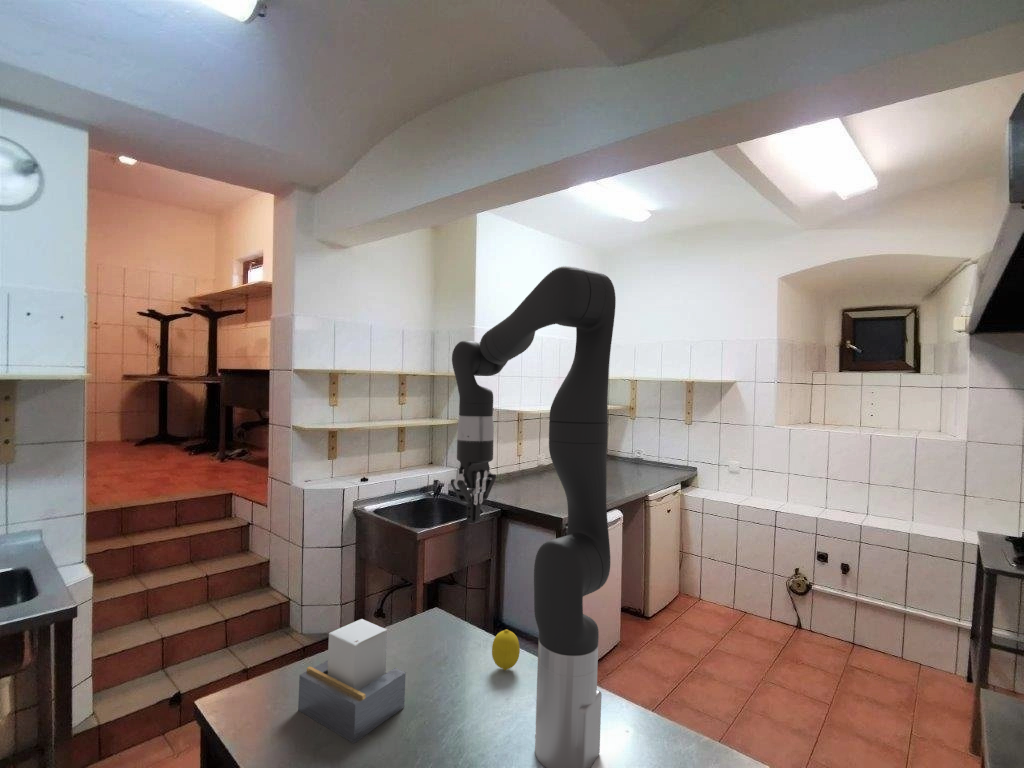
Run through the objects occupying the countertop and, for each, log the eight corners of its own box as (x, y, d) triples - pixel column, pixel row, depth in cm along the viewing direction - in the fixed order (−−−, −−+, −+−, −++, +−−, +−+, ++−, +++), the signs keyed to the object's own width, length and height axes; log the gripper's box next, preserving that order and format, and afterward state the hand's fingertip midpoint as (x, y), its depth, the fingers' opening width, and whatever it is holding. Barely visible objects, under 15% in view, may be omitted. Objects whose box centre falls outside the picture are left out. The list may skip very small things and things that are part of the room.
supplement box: (386, 701, 89) (389, 629, 89) (351, 722, 83) (354, 645, 83) (359, 685, 93) (362, 617, 93) (324, 705, 87) (327, 631, 87)
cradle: (404, 707, 87) (405, 668, 87) (353, 743, 78) (355, 700, 78) (350, 680, 95) (351, 644, 95) (298, 710, 85) (299, 671, 85)
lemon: (519, 663, 102) (521, 624, 102) (517, 679, 97) (519, 637, 97) (493, 661, 103) (494, 622, 103) (489, 676, 97) (490, 635, 97)
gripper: (470, 440, 96) (467, 532, 95) (508, 437, 107) (506, 519, 107) (440, 438, 100) (438, 525, 99) (479, 435, 111) (477, 513, 111)
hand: (473, 522), depth 103 cm, fingers closed
